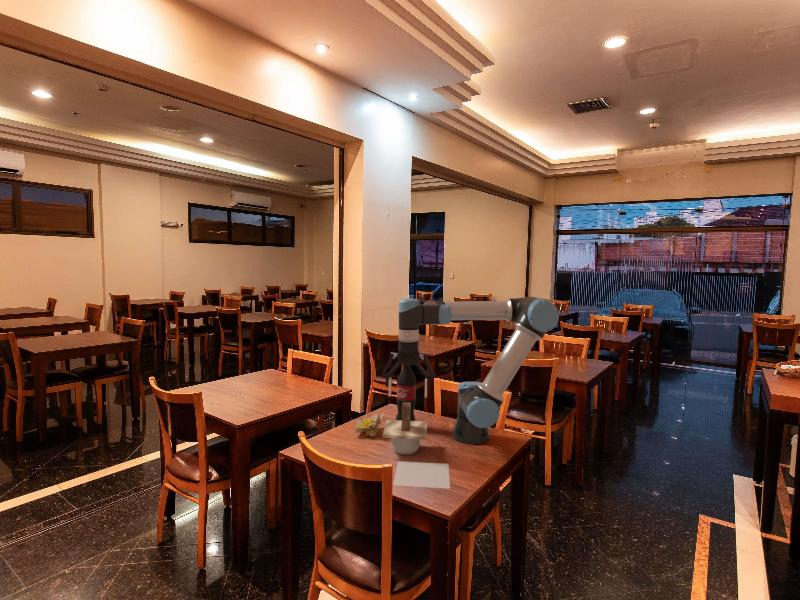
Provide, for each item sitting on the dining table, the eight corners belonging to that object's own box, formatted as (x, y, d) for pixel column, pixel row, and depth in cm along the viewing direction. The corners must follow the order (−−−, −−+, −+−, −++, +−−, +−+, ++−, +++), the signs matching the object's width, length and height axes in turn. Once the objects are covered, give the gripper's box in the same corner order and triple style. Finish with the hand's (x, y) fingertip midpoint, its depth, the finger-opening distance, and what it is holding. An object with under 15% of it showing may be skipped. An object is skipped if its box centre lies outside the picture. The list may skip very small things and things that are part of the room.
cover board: (427, 424, 181) (427, 399, 181) (426, 439, 166) (427, 412, 165) (386, 422, 182) (387, 397, 182) (382, 437, 167) (383, 410, 166)
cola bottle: (397, 423, 205) (398, 356, 202) (416, 424, 204) (417, 357, 201) (394, 429, 196) (395, 360, 194) (413, 431, 195) (415, 361, 193)
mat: (448, 465, 163) (448, 463, 163) (450, 490, 145) (450, 488, 145) (397, 462, 164) (398, 461, 164) (393, 487, 146) (393, 485, 146)
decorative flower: (356, 420, 201) (362, 399, 200) (381, 428, 200) (387, 407, 199) (348, 435, 187) (353, 413, 185) (374, 443, 186) (380, 421, 184)
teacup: (416, 459, 167) (417, 438, 166) (387, 456, 169) (388, 435, 168) (422, 445, 181) (422, 425, 180) (395, 442, 183) (395, 422, 182)
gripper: (374, 341, 169) (373, 397, 170) (442, 342, 167) (441, 400, 169) (376, 337, 176) (376, 392, 178) (441, 339, 174) (440, 394, 176)
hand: (407, 396), depth 173 cm, fingers open, 13 cm apart
